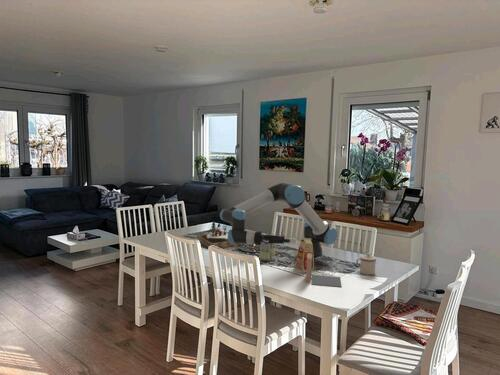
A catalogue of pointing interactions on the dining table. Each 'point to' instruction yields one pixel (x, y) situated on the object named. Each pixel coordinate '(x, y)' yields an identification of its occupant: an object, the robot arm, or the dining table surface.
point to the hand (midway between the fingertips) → (295, 241)
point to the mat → (326, 281)
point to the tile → (309, 268)
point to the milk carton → (304, 254)
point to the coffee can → (267, 251)
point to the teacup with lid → (367, 264)
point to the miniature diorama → (217, 234)
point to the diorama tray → (220, 244)
